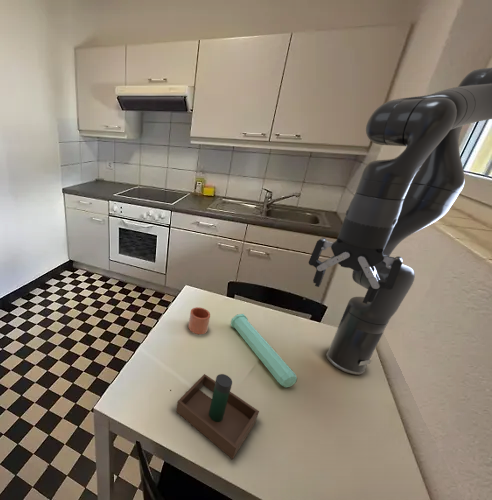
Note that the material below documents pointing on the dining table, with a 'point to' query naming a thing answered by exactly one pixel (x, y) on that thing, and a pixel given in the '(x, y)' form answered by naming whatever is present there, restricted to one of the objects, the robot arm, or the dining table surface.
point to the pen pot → (199, 320)
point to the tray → (232, 425)
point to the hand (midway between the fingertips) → (340, 293)
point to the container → (264, 351)
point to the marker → (220, 397)
